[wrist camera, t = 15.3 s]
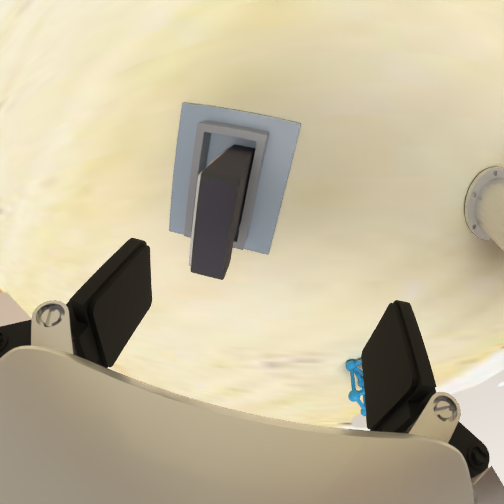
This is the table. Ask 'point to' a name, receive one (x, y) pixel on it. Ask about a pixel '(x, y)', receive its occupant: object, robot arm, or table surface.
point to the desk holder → (261, 177)
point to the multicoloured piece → (219, 210)
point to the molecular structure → (356, 394)
